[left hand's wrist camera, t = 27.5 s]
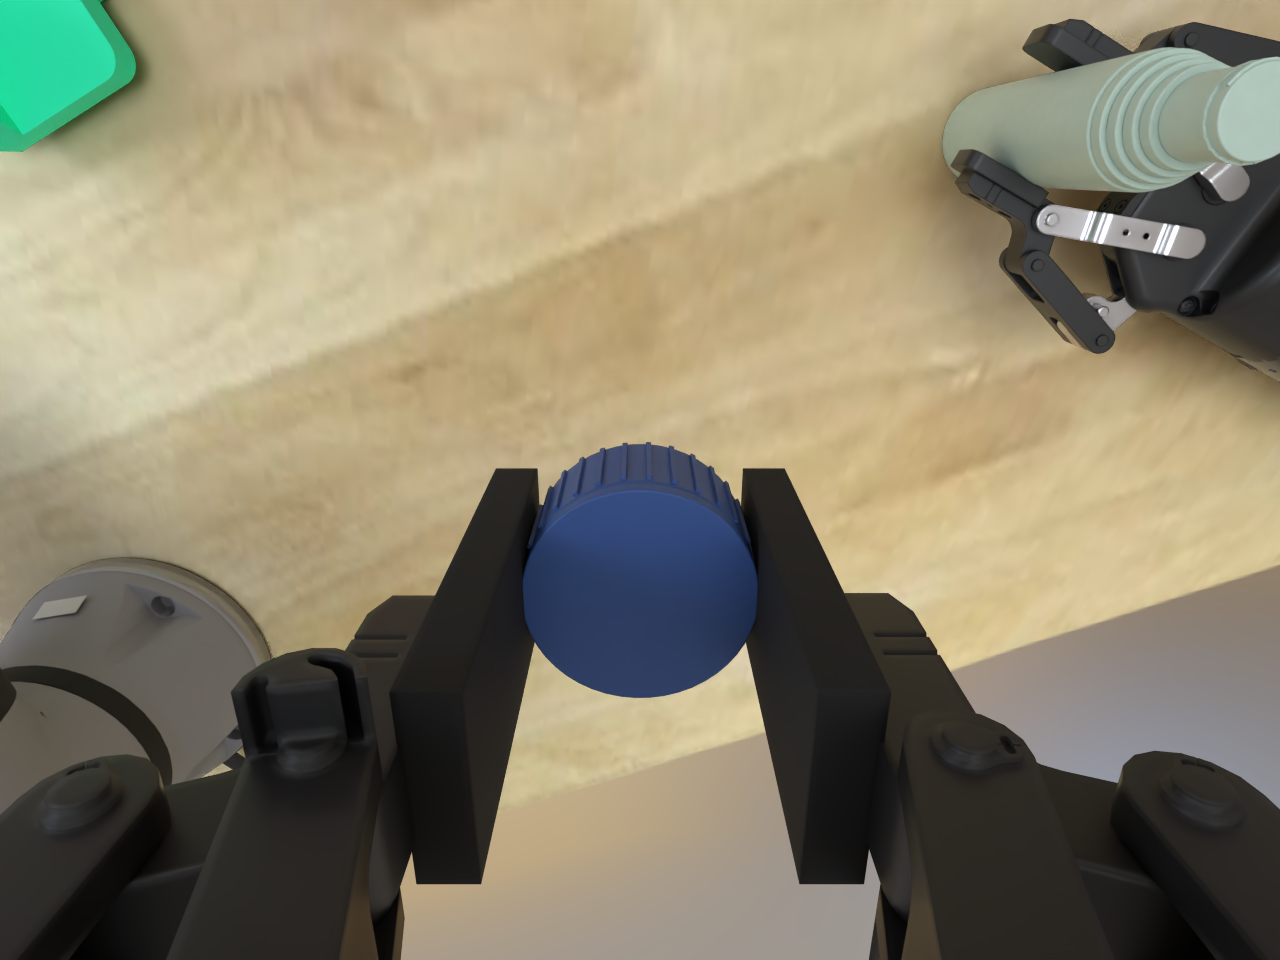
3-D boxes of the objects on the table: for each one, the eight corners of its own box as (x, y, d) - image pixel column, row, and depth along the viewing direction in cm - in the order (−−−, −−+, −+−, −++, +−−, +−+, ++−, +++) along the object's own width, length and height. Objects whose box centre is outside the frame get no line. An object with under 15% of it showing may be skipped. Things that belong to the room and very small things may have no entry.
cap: (549, 422, 14) (533, 466, 12) (768, 459, 14) (790, 510, 12) (521, 613, 15) (503, 682, 13) (721, 644, 15) (733, 716, 13)
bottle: (1050, 129, 39) (1383, 97, 21) (983, 203, 40) (1246, 231, 23) (990, 66, 38) (1287, -21, 20) (923, 144, 39) (1149, 126, 22)
